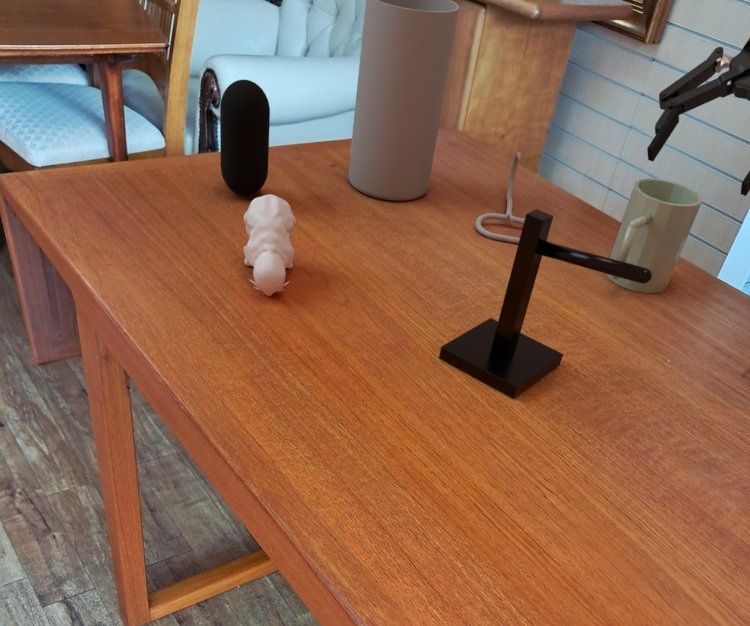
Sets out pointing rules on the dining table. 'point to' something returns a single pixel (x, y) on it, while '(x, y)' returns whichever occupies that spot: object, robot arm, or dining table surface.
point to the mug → (654, 231)
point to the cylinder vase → (400, 95)
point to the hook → (508, 213)
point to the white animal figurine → (269, 242)
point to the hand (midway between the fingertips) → (695, 172)
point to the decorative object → (244, 137)
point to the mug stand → (503, 338)
